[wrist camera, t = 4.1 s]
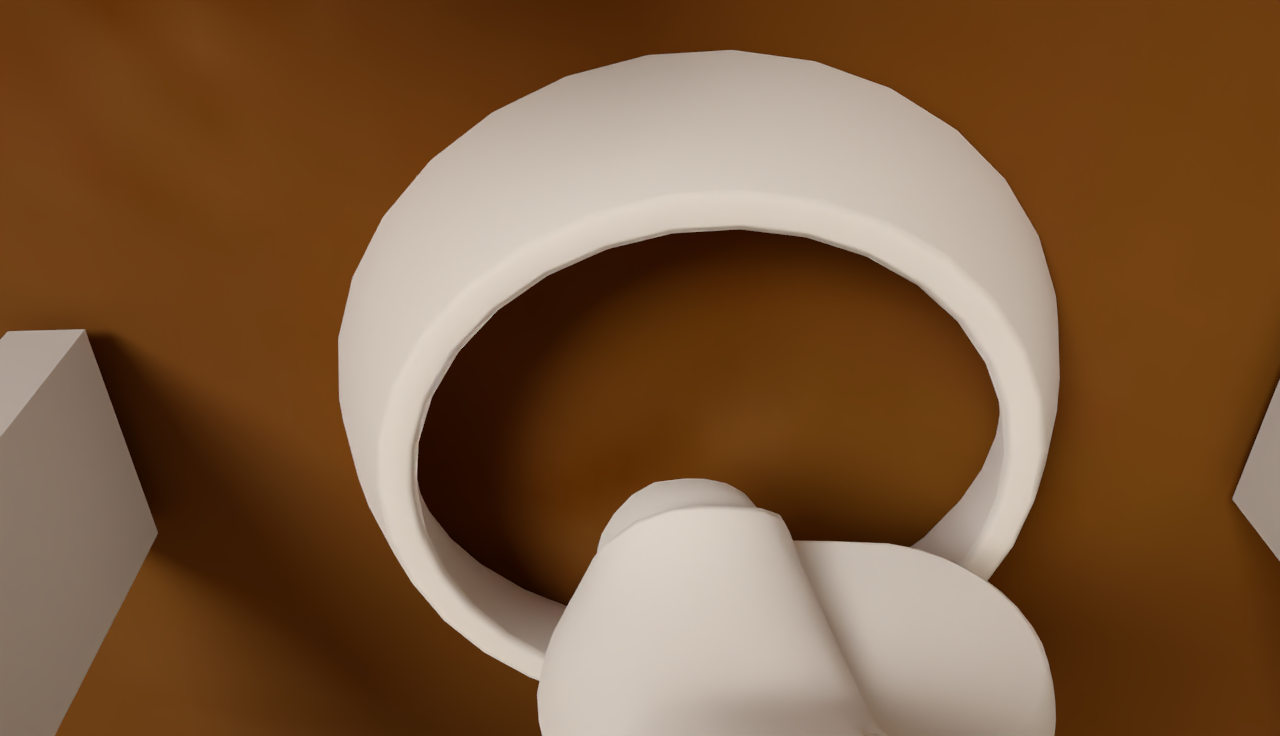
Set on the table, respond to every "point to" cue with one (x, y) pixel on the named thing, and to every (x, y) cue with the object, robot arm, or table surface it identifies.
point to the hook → (700, 508)
